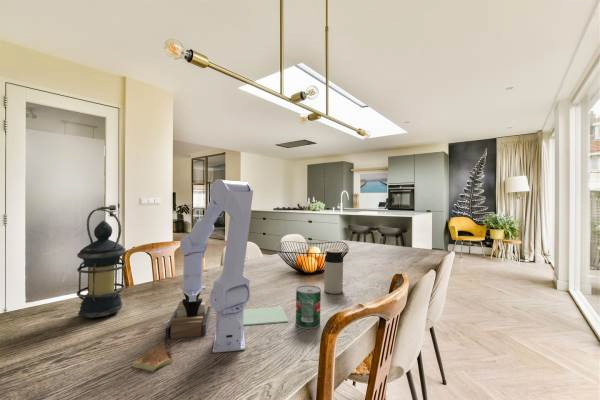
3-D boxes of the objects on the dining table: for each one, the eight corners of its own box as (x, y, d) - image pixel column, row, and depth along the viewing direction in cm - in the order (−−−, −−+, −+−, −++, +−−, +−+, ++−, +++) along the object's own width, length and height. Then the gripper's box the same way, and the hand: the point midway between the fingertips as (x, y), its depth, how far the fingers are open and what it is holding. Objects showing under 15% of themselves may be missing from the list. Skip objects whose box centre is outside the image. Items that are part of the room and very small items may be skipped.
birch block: (204, 323, 86) (204, 304, 86) (176, 325, 84) (177, 305, 84) (205, 318, 90) (206, 299, 90) (179, 320, 88) (180, 301, 88)
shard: (165, 345, 73) (165, 338, 73) (190, 350, 71) (190, 343, 71) (130, 368, 63) (131, 361, 63) (158, 375, 61) (158, 367, 61)
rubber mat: (288, 322, 88) (288, 320, 88) (223, 327, 83) (223, 325, 83) (282, 307, 100) (282, 306, 100) (225, 311, 95) (225, 310, 95)
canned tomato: (292, 320, 90) (292, 286, 90) (314, 316, 92) (314, 284, 92) (300, 330, 82) (301, 294, 82) (324, 327, 85) (325, 291, 85)
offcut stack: (201, 335, 78) (202, 320, 78) (169, 338, 76) (170, 322, 76) (203, 328, 82) (203, 313, 82) (173, 331, 80) (173, 315, 80)
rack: (205, 335, 78) (205, 325, 78) (165, 339, 76) (165, 328, 76) (210, 315, 92) (210, 306, 92) (176, 317, 89) (176, 308, 89)
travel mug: (345, 293, 118) (346, 251, 118) (329, 295, 115) (330, 252, 115) (336, 287, 125) (337, 248, 125) (321, 289, 122) (321, 248, 122)
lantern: (135, 309, 96) (137, 208, 96) (98, 325, 83) (101, 209, 83) (103, 304, 99) (106, 207, 100) (63, 319, 87) (66, 208, 87)
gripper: (207, 278, 82) (206, 324, 82) (205, 267, 95) (204, 307, 95) (181, 280, 79) (180, 328, 79) (183, 269, 93) (182, 309, 93)
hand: (191, 316), depth 87 cm, fingers open, 7 cm apart
